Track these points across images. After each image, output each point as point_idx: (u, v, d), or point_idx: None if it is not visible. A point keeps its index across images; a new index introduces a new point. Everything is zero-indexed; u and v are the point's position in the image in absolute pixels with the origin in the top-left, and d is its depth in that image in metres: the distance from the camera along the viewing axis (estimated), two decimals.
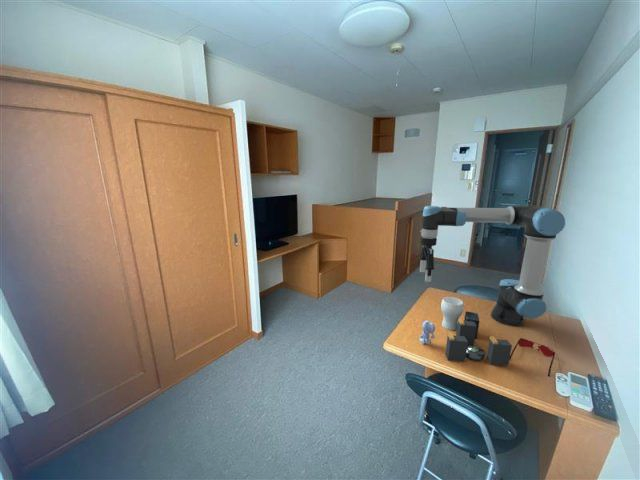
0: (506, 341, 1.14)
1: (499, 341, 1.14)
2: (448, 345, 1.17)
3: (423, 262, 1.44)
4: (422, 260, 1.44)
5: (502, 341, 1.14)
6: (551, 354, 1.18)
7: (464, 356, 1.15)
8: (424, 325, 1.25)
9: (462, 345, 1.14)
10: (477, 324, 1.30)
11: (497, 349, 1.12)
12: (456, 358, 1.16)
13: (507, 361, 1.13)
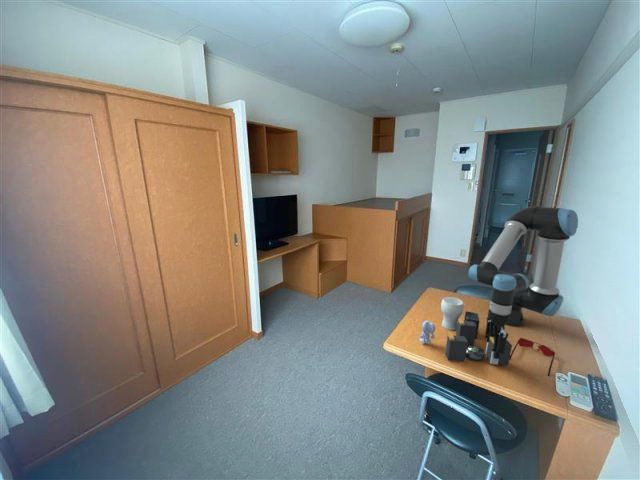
0: (506, 341, 1.14)
1: None
2: (448, 345, 1.17)
3: None
4: None
5: None
6: (551, 354, 1.18)
7: (464, 356, 1.15)
8: (424, 325, 1.25)
9: (462, 345, 1.14)
10: (477, 324, 1.30)
11: None
12: (456, 358, 1.16)
13: (507, 361, 1.13)
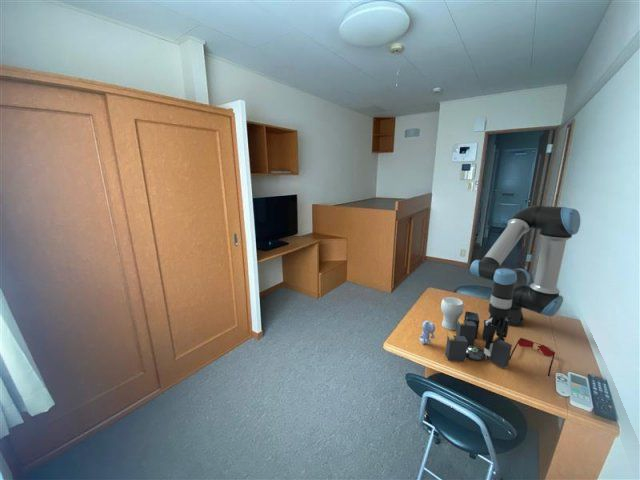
0: (508, 344, 1.11)
1: (500, 341, 1.14)
2: (448, 345, 1.17)
3: None
4: None
5: (503, 342, 1.13)
6: (551, 354, 1.18)
7: (464, 356, 1.15)
8: (424, 325, 1.25)
9: (462, 345, 1.14)
10: (477, 324, 1.30)
11: (493, 346, 1.14)
12: (456, 358, 1.16)
13: (502, 363, 1.12)
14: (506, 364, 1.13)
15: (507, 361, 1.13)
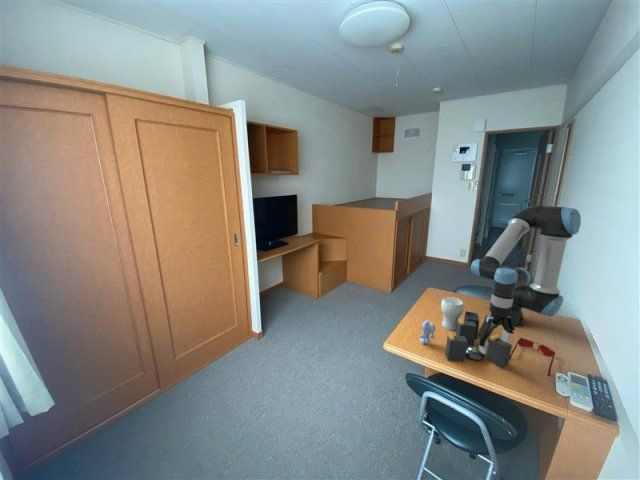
0: (508, 344, 1.11)
1: (500, 341, 1.14)
2: (448, 345, 1.17)
3: (505, 334, 1.18)
4: (505, 331, 1.18)
5: (503, 342, 1.13)
6: (551, 354, 1.18)
7: (464, 356, 1.15)
8: (424, 325, 1.25)
9: (462, 345, 1.14)
10: (477, 324, 1.30)
11: (492, 346, 1.15)
12: (456, 358, 1.16)
13: (502, 363, 1.12)
14: (506, 364, 1.12)
15: (507, 361, 1.12)
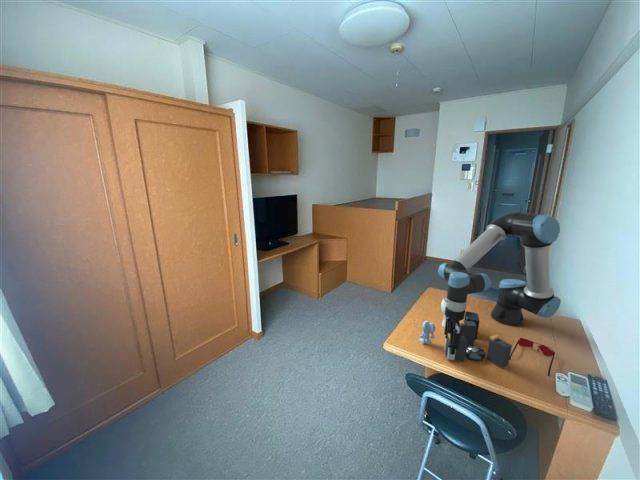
0: (508, 344, 1.11)
1: (500, 341, 1.14)
2: None
3: None
4: None
5: (503, 342, 1.13)
6: (551, 354, 1.19)
7: (464, 356, 1.15)
8: (424, 325, 1.25)
9: (462, 345, 1.14)
10: (477, 324, 1.30)
11: (492, 346, 1.15)
12: (456, 358, 1.16)
13: (501, 363, 1.12)
14: (506, 364, 1.12)
15: (507, 361, 1.12)
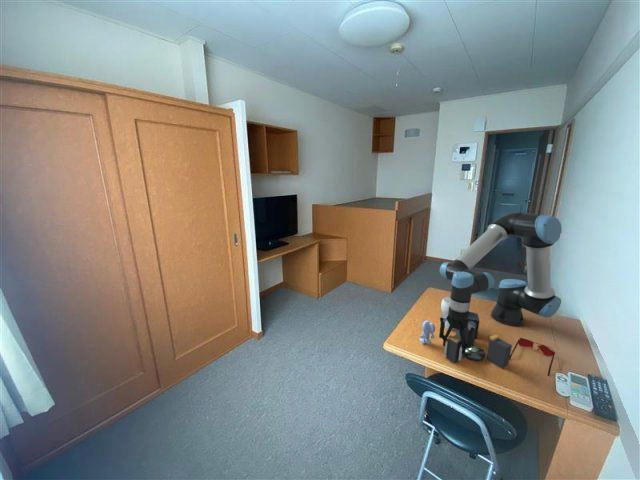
0: (508, 344, 1.11)
1: (500, 341, 1.14)
2: (452, 348, 1.15)
3: None
4: (447, 341, 1.17)
5: (503, 342, 1.13)
6: (551, 354, 1.19)
7: None
8: (424, 325, 1.25)
9: None
10: (477, 324, 1.30)
11: (492, 346, 1.15)
12: None
13: (501, 363, 1.12)
14: (506, 364, 1.12)
15: (507, 361, 1.12)
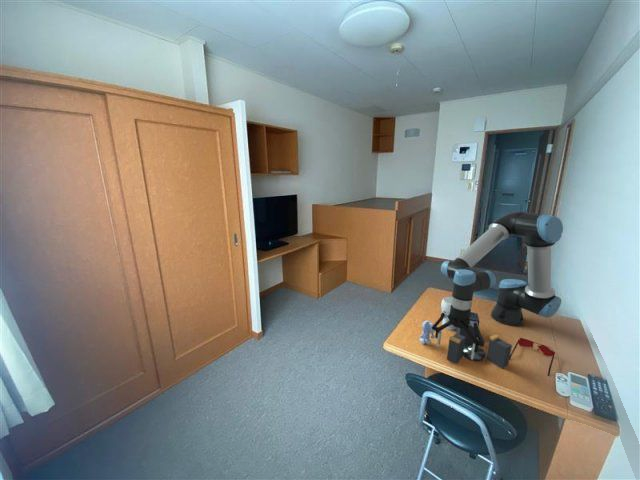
0: (508, 344, 1.11)
1: (500, 341, 1.14)
2: (454, 349, 1.14)
3: (440, 334, 1.18)
4: (439, 332, 1.18)
5: (503, 342, 1.13)
6: (551, 354, 1.19)
7: None
8: (424, 325, 1.25)
9: (463, 343, 1.16)
10: None
11: (492, 346, 1.15)
12: (459, 357, 1.17)
13: (501, 363, 1.12)
14: (506, 364, 1.12)
15: (507, 361, 1.12)
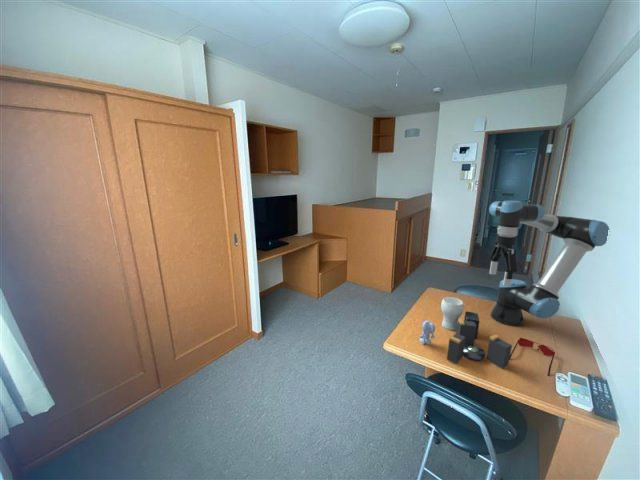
0: (508, 344, 1.11)
1: (500, 341, 1.14)
2: (454, 349, 1.14)
3: (494, 263, 1.29)
4: (493, 261, 1.30)
5: (503, 342, 1.13)
6: (551, 354, 1.19)
7: None
8: (424, 325, 1.25)
9: (463, 343, 1.16)
10: (477, 324, 1.30)
11: (492, 346, 1.15)
12: (459, 357, 1.17)
13: (501, 363, 1.12)
14: (506, 364, 1.12)
15: (507, 361, 1.12)
